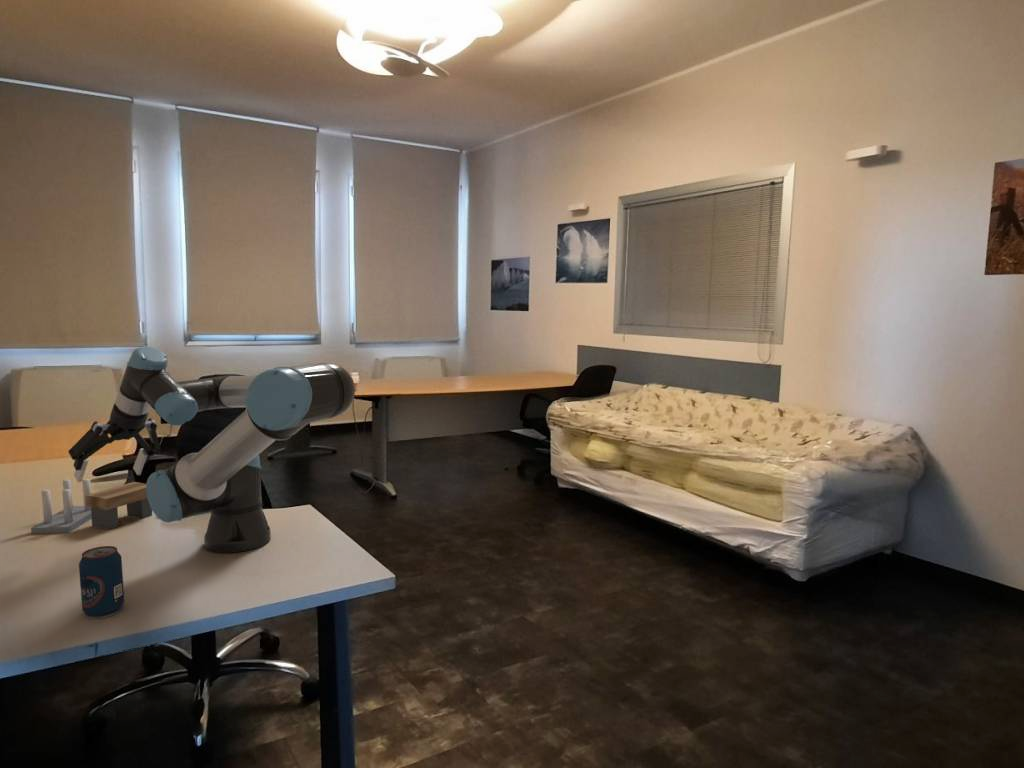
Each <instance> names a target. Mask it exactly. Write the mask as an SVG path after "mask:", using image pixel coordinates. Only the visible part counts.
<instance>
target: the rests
mask: <svg viewBox="0 0 1024 768" xmlns="http://www.w3.org/2000/svg"><path fill="white" fill-rule="evenodd" d="M126 515H127V516H129V517H134V518H139V519H145V518H148V517H151V516H153V511H152V509H151V507H150V505H149V502H148V498H146V499H143V500H140V501H136V502H133V503H130V504H126ZM91 516H92V518H91V526H92V527H93V528H97V529H102V530H107V531H108V530H109V531H110V530H111V529H115V528H117V527H119V512H118V507H116V508H113V509H110V510H103V509H98V508H93V507H91Z"/></svg>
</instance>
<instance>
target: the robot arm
mask: <svg viewBox="0 0 1024 768" xmlns="http://www.w3.org/2000/svg"><path fill="white" fill-rule="evenodd" d="M168 362H169V359H168V356H167V355H166V354H165V353H164V352H163V351H161V350H159V349H157V348H155V347H151V346H141V347H137V348H135V349H134V350H133V351H132V352H131V355H130V357H129V360H128V361H127V363H126V367H125V370H124V373H123V377H122V379H121V382H120V385H119V389H118V392H117V395H116V398H115V400H114V403H113V406H112V409H111V411H110V415H109V420H108V421H107V422H106V423H100V422H99V421H97V420H96V421H94V422H93V423H92V425H91V426H90V428H89V430H87V431H86V432H85V434H83V436H82V437H81V438H80V439H79V440H78V441H77V442H76V443H74V445H72V447H71V448H70V449H68V454H69V456H70V458H71V459H72V460H73V461H74V463H73V467H74V469H75V470H74V473H73V476H74V478H75V480H76V481H77V483H82V480H84V479H83V478H84V476H85V473H86V469H87V466H88V464H89V460H88V458H89V457H91V456H93V455H94V454H95V453H97V452H99V450H101V449H103V448H104V447H105V446H106V445H108V444H113V442H115V441H121V440H123V441H124V440H126V441H128V440H131V439H132V438H134V440H135V441H136V442H138V444H139V445H140V446H141V447H142V448H140V449H139V451H138V454H137V456H136V459H135V461H134V464H133V466H132V469H133V471H134V472H135V474H136V475H137V476H141V475H142V471H143V468H144V466H145V463H148V462H149V459H150V457H153V456H154V455H155V452H156V453H157V452H158V453H159V452H160V451H161V450H162V449H161V448H162V447H161V445H160V441H159V437H158V434H157V428H158V425H157V423H156V421H155V420H154V418H153V417H151V418H149V419H148V417H149V414H150V411H151V410H152V409H153V411H155V413H156V414H157V415H158V416H159V417H160V418H162V419H163V420H164V421H165V422H166V423H168V424H170V425H171V426H181V425H184V424H185V423H186V422H191V420H193V418H195V416H197V415H196V414H197V413H198V412H204V411H208V410H216V409H233V408H245V410H244V411H243V412H242V413H240V414H239V415H238V416H237V417H235V419H234V420H232V421H231V423H229V424H228V425H227V426H225V428H224V429H222V431H221V432H219V433H218V434H217V435H216V436H215V437H214V438H213V439H212V440H211V441H209V442H208V443H207V444H206V445H205V446H204V447H202V448H201V450H199V451H197V452H191V453H188V454H186V455H184V456H182V457H181V458H180V459H179V460H178V461H177V462H175V463H174V464H173V465H172V466H169V468H166V469H158V470H156V471H155V472H152V473H151V474H150V475H149V477H148V478H147V481H146V483H145V484H146V491H147V498H148V502H149V505H150V507H151V509H152V513H153V514H154V515H155V517H156V518H157V519H160V521H162V522H163V523H173V522H177V521H179V522H180V521H182V520H183V519H187V518H189V517H192V516H196V515H198V514H202V513H204V512H205V513H206V512H209V511H210V517H209V520H208V524H207V529H206V532H205V535H204V541H203V542H204V543H203V544H204V548H205V549H206V550H208V551H210V552H214V553H222V554H226V553H227V554H230V553H241V552H246V551H250V550H255V549H258V548H261V547H262V546H265V545H266V544H267V543H269V542H271V541H270V540H271V537H272V536H271V535H272V534H271V527H270V526H269V523H268V520H267V518H266V515H265V513H264V509H263V502H262V501H263V500H262V499H263V497H262V471H261V470H262V467H261V461H260V454H261V453H262V452H264V450H266V449H267V448H268V447H269V446H271V445H272V444H273V443H274V442H276V441H287V440H288V439H290V438H291V437H293V436H295V434H298V432H299V431H301V430H302V429H303V428H304V427H305V426H307V425H309V424H312V423H314V422H319V421H323V420H327V419H333V418H337V417H338V416H340V415H343V413H345V412H346V411H347V410H348V409H349V408H350V406H351V405H352V403H353V401H354V398H355V395H356V385H355V383H354V379H353V377H352V376H351V374H350V373H349V372H348V370H346V369H345V367H342V366H341V365H338V364H335V363H332V362H321V363H312V364H304V365H296V366H278V367H274V368H271V369H268V370H264V371H263V372H260V373H258V374H251V375H221V376H220V375H219V376H216V377H209V378H208V377H207V378H201V379H200V378H199V379H190V380H183V381H181V380H180V381H177V380H176V379H175V378H174V377H173V375H171V374H170V373H169V372H168V371H167V370H166V369H167V368H168ZM151 408H152V409H151ZM147 419H148V420H147ZM144 429H146V430H147V432H148V436H149V440H150V443H151V444H149V442H148V443H147V441H146V440H145V438H143V436H142V435H141V434H140V432H142V431H144ZM109 435H110V436H109Z"/></svg>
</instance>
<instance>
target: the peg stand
mask: <svg viewBox="0 0 1024 768" xmlns="http://www.w3.org/2000/svg"><path fill="white" fill-rule="evenodd" d="M81 483H82V493H83V495H82V496H83V505H73V496H72V495H73V493H72V480H71V479H64V480H62V491H61V492H62V495H61V496H62V505H63V509H62V510H60V511H58V512H57V513H55V514H53V512H52V500H51V490H50V489H44V490H41V492H40V493H41V502H42V504H41V505H42V514H43V520H42V521H41V522H39V523H37V524H35V525H33V526H31V528H30V532H31V533H30V534H32V535H33V534H35V535H36V534H64V533H66V534H67V533H71V532H72V531H74V530H75V529H77V528H79V527H80V526H82V525H83V524H85V523H87V522H88V521H89V520H92V516H91V507H88V506H86V495H88V494H91V493H92V489H91V488H92V486H91V478H84V479H82V482H81Z"/></svg>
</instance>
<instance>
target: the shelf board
mask: <svg viewBox="0 0 1024 768" xmlns="http://www.w3.org/2000/svg"><path fill="white" fill-rule="evenodd" d="M146 484H147V483H143V482H137V481H133V482H129V483H126V484H122V485H117V486H114V487H111V488H107V489H104V490H99V491H95V492H91V494H88V495H86V506H88V507H93V508H98V509H103V510H110V509H113V508H116V507H117V508H120V507H122V506H127V504H130V503H133V502H136V501H140V500H143V499H146V498H147V491H146Z"/></svg>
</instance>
